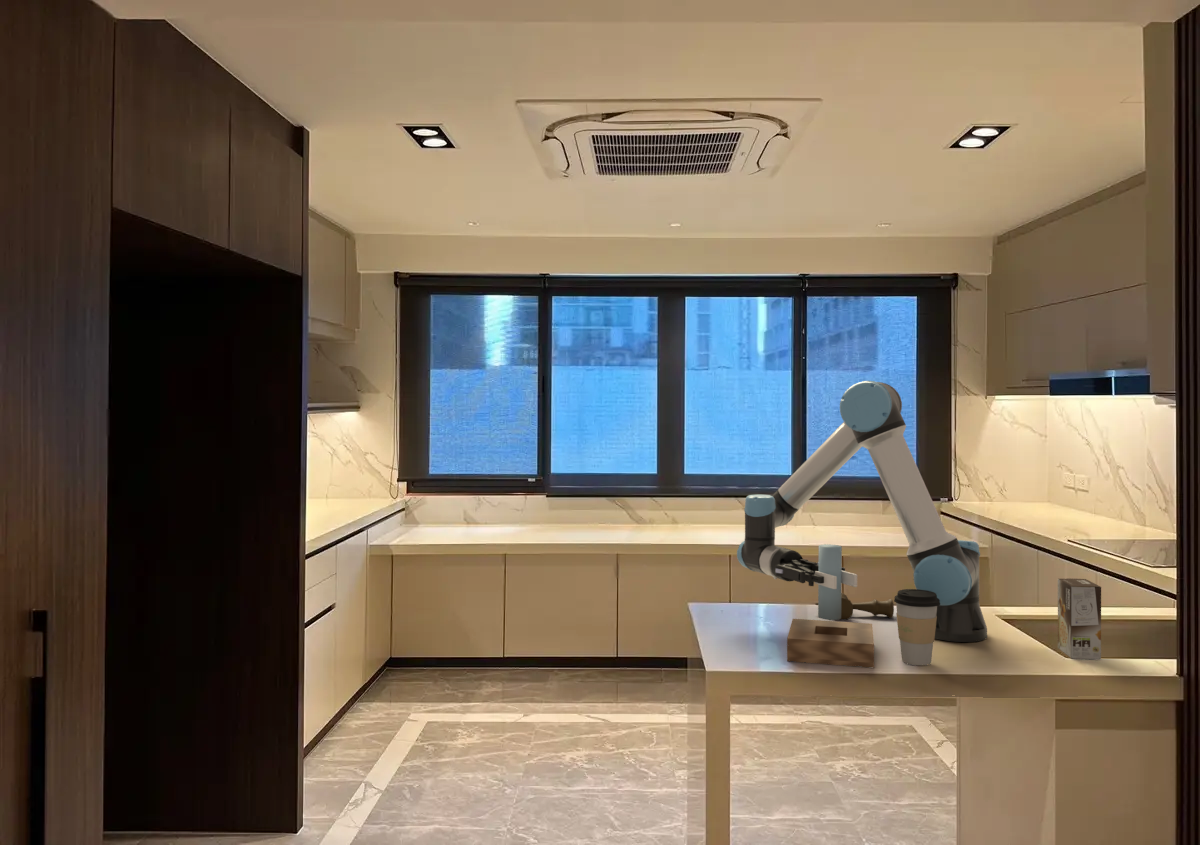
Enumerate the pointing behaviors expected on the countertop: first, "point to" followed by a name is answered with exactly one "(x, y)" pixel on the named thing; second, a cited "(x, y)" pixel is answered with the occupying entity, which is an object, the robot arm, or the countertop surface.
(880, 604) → the kendama
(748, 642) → the countertop surface
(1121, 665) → the countertop surface
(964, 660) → the countertop surface
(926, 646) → the coffee cup
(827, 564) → the peg
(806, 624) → the socket block
